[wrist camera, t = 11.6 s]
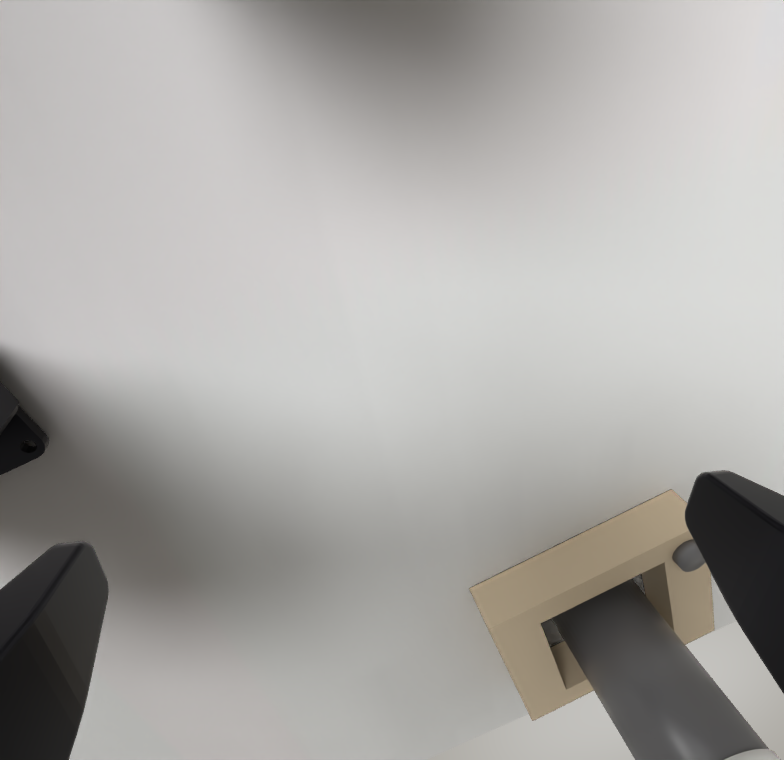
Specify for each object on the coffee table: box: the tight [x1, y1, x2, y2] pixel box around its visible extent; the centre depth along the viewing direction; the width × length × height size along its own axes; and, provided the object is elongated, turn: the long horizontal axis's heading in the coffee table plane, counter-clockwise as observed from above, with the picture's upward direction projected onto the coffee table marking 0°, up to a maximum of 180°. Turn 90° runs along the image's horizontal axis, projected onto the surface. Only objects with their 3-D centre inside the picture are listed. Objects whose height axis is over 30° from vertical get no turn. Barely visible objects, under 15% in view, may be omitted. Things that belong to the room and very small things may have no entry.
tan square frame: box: [469, 489, 714, 721], centre depth 29 cm, size 12×10×3 cm
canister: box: [552, 579, 781, 760], centre depth 25 cm, size 5×5×12 cm
